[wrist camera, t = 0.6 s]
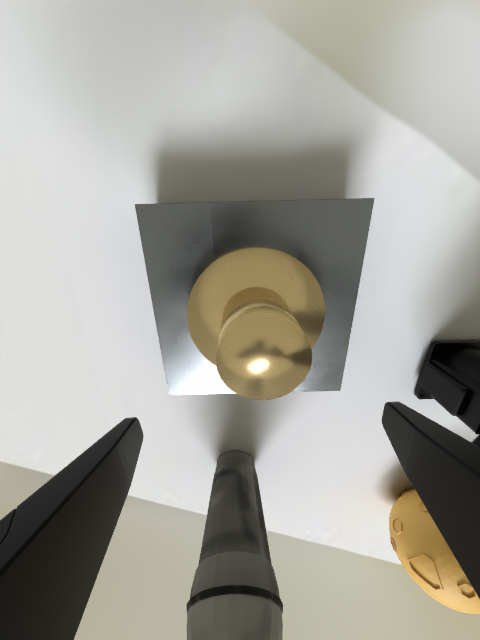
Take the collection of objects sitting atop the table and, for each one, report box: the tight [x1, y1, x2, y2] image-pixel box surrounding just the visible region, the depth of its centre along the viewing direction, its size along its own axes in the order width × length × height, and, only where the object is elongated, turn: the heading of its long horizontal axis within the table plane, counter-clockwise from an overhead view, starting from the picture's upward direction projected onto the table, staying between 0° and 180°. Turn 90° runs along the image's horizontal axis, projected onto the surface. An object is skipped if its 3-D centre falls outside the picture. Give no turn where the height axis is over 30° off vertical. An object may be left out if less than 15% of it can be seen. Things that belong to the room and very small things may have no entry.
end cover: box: [187, 246, 325, 400], centre depth 15 cm, size 9×9×9 cm
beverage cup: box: [187, 451, 283, 640], centre depth 19 cm, size 7×7×20 cm
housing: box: [135, 198, 374, 395], centre depth 18 cm, size 14×14×4 cm
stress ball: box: [389, 489, 480, 614], centre depth 26 cm, size 10×10×10 cm
